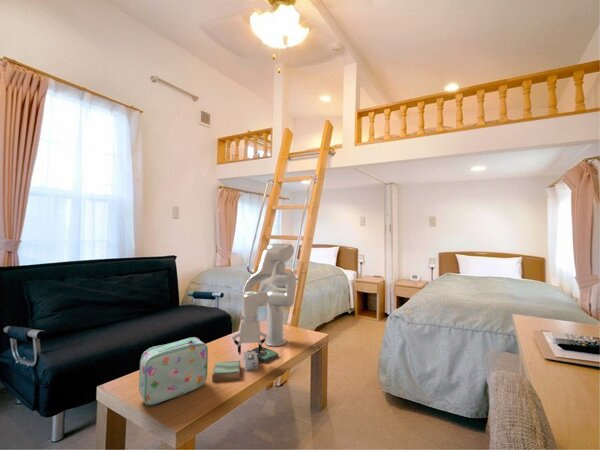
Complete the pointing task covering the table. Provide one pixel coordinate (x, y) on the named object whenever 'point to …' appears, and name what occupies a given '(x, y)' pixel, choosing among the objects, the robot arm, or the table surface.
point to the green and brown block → (226, 371)
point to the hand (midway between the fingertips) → (249, 353)
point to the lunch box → (172, 370)
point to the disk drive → (265, 354)
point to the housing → (250, 360)
